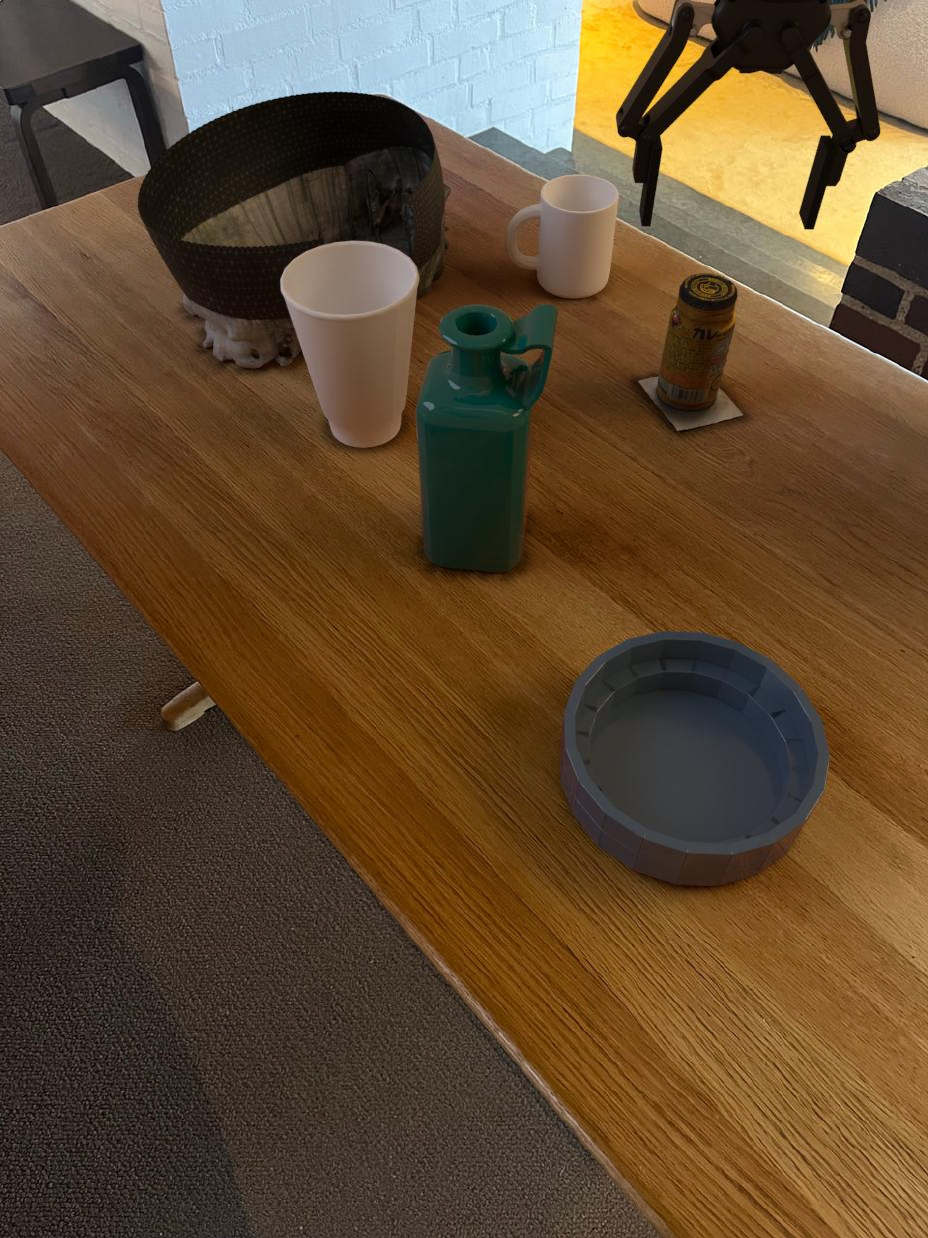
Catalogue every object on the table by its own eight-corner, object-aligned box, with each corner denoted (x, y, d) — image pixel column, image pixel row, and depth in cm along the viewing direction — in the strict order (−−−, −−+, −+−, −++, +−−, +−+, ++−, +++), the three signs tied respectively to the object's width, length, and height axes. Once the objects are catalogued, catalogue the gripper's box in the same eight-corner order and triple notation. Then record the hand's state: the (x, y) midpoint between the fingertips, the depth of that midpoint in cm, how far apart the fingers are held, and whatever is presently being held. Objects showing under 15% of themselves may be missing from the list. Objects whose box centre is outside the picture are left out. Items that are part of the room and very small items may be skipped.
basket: (519, 328, 104) (525, 180, 91) (200, 409, 96) (159, 259, 83) (424, 206, 120) (418, 67, 108) (145, 267, 112) (104, 124, 99)
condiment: (700, 367, 99) (724, 260, 90) (743, 416, 94) (772, 308, 85) (637, 382, 98) (654, 275, 88) (676, 433, 93) (699, 326, 83)
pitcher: (420, 568, 82) (406, 349, 65) (435, 499, 87) (426, 280, 70) (534, 579, 81) (550, 361, 64) (543, 509, 86) (560, 290, 69)
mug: (505, 302, 107) (507, 214, 99) (501, 262, 112) (503, 175, 104) (612, 300, 107) (623, 211, 99) (604, 260, 112) (613, 172, 104)
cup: (369, 371, 99) (354, 225, 87) (451, 422, 94) (448, 274, 82) (280, 425, 94) (250, 277, 81) (361, 483, 89) (343, 334, 76)
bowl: (784, 678, 74) (803, 634, 70) (828, 895, 63) (854, 859, 59) (556, 671, 75) (561, 627, 71) (561, 885, 64) (567, 848, 60)
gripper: (962, -96, 67) (864, 199, 83) (603, -99, 67) (576, 194, 84) (995, -60, 62) (884, 245, 78) (608, -64, 63) (579, 240, 79)
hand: (725, 220), depth 81 cm, fingers open, 13 cm apart
